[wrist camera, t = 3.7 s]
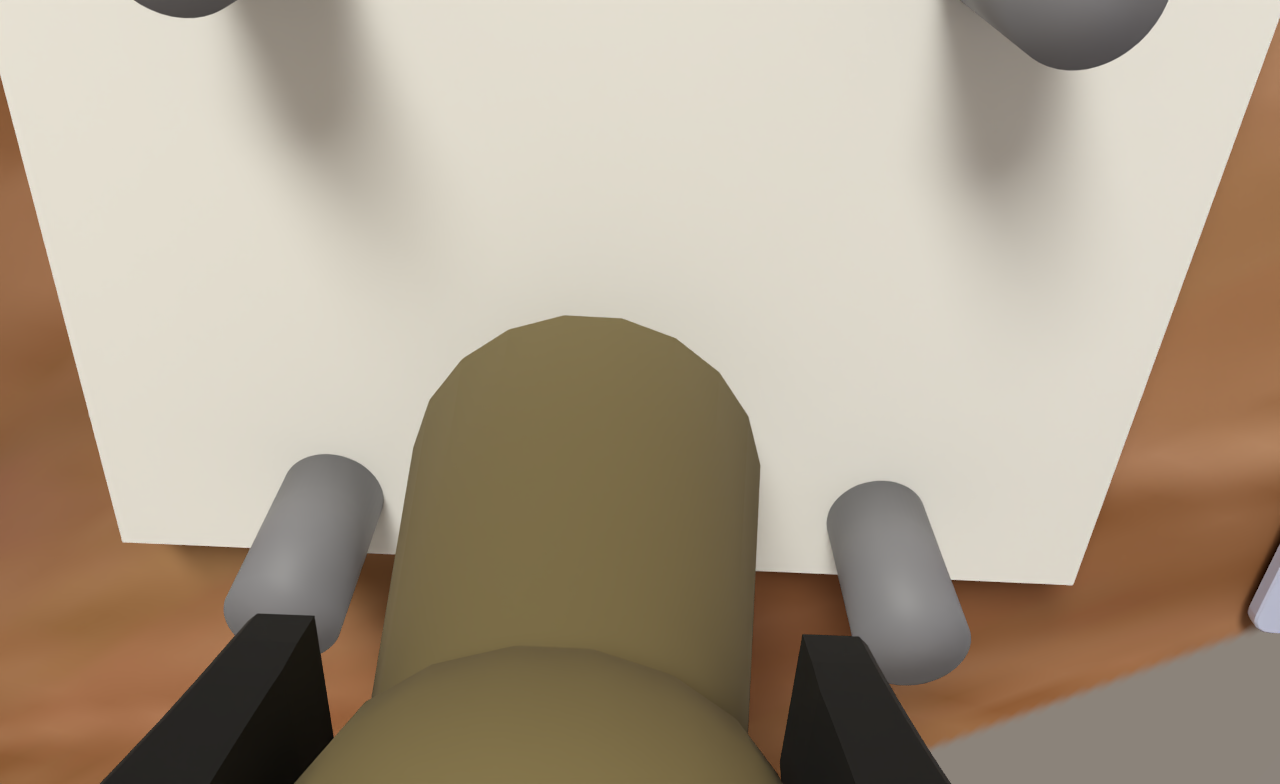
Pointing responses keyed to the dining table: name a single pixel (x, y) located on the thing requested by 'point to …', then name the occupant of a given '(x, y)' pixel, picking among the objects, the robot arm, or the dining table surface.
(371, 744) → the olive rounded cylinder
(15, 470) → the dining table surface
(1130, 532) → the dining table surface
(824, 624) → the dining table surface
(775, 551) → the peg board
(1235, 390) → the dining table surface
